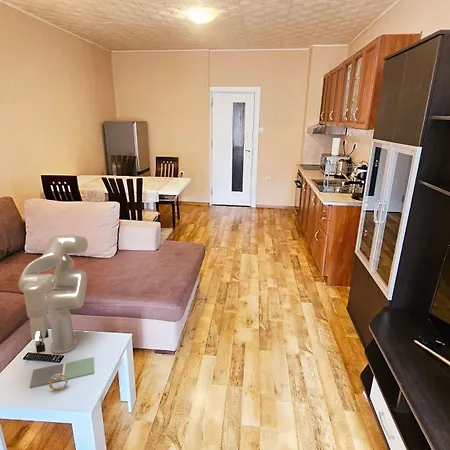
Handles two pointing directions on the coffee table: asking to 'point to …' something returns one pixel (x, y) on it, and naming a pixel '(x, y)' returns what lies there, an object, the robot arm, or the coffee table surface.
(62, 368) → the board
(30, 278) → the robot arm
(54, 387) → the ring
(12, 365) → the coffee table surface
